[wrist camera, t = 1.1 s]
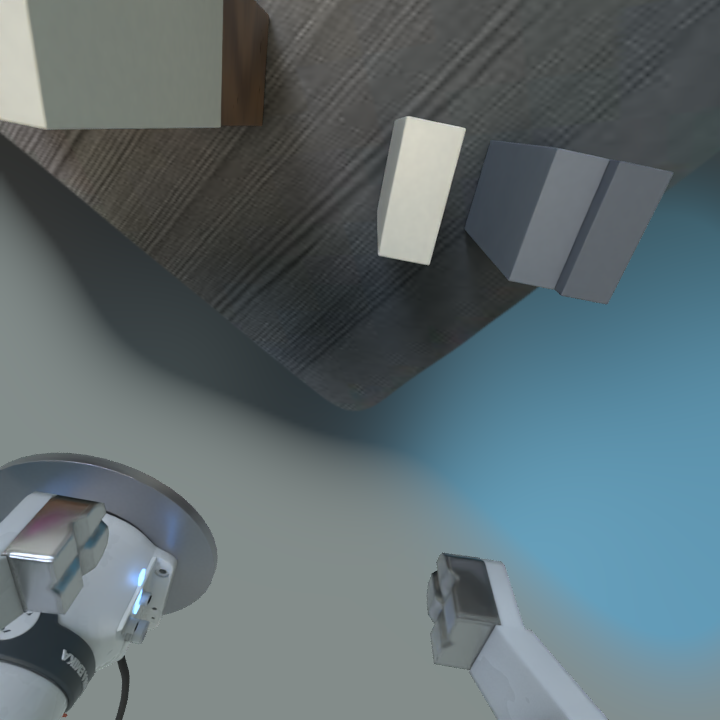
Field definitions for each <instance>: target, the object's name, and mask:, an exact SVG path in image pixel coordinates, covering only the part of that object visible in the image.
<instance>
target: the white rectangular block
mask: <svg viewBox="0 0 720 720" xmlns="http://www.w3.org/2000/svg"><path fill="white" fill-rule="evenodd" d="M465 132H466V129H465V128H462V127H457V126H452V125H448V124H443V123H438V122H434V121H429V120H424V119H420V118H415V117H410V116H407V117H403V118H400V119H397V120H395V122H394V127H393V132H392V138H391V143H390V148H389V153H388V158H387V163H386V168H385V173H384V178H383V184H382V189H381V194H380V199H379V204H378V209H377V233H378V255H379V256H383V257H388V258H393V259H398V260H403V261H408V262H414V263H419V264H424V265H429V264H430V261H431V258H432V254H433V250H434V246H435V243H436V239H437V235H438V232H439V228H440V224H441V221H442V217H443V213H444V209H445V206H446V202H447V198H448V195H449V191H450V187H451V184H452V180H453V176H454V172H455V169H456V165H457V161H458V158H459V154H460V150H461V147H462V143H463V139H464V135H465Z"/></svg>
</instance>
